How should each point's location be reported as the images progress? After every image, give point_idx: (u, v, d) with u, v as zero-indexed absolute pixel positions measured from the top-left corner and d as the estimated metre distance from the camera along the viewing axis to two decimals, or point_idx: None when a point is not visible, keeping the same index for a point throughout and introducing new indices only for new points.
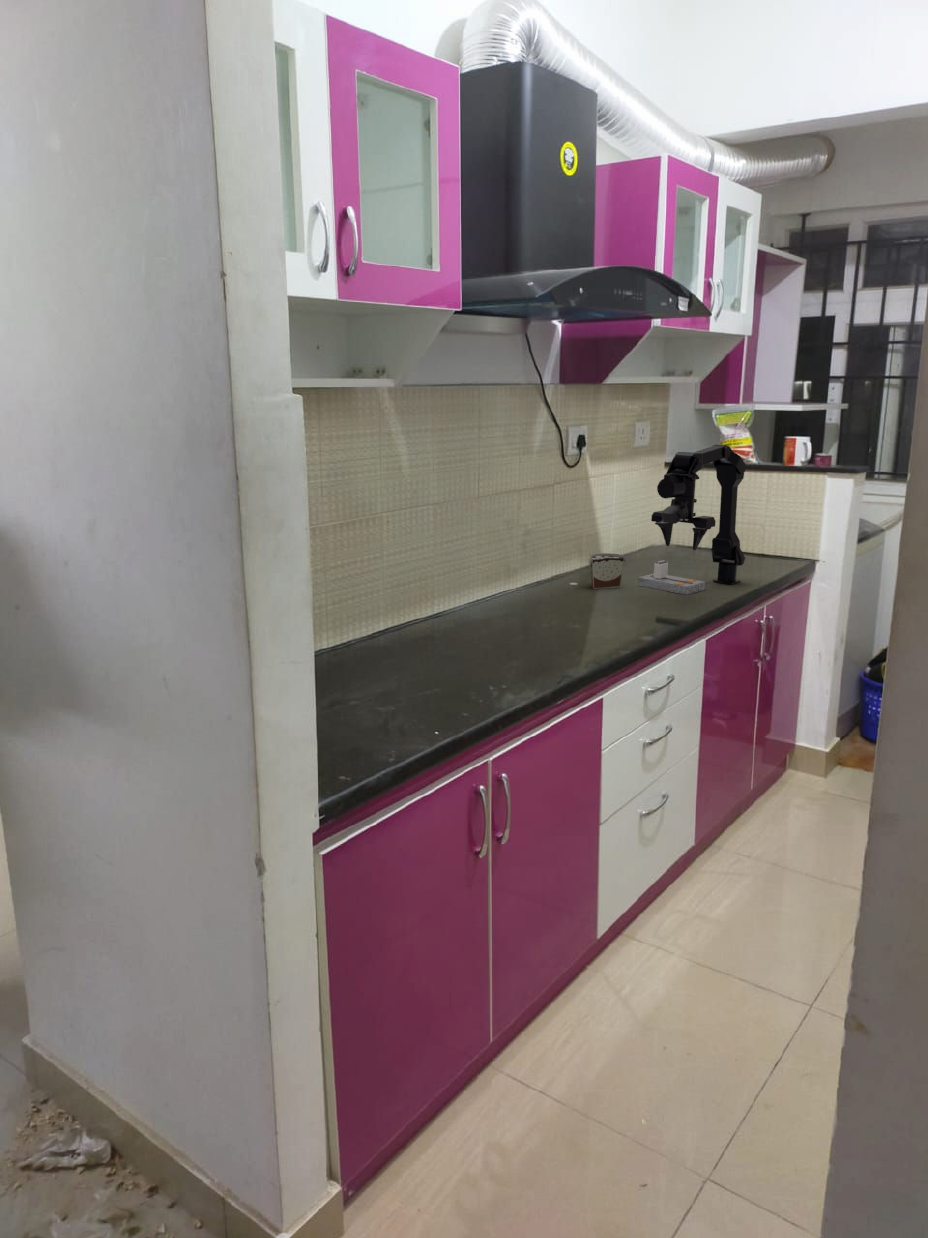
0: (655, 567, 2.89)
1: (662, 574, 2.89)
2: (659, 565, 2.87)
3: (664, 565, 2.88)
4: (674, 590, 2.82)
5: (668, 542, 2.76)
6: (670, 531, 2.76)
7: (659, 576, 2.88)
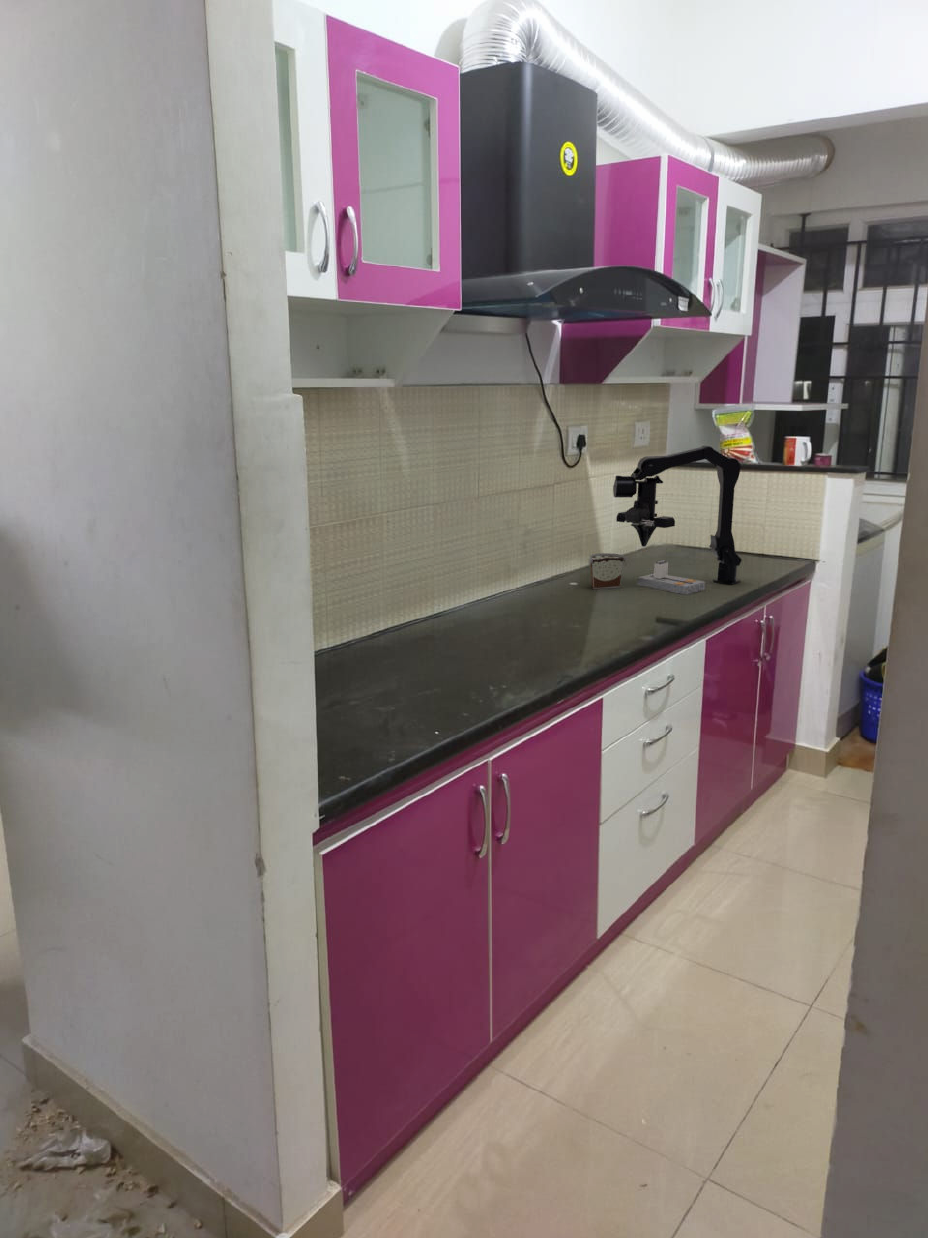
0: (655, 567, 2.89)
1: (662, 574, 2.89)
2: (659, 565, 2.87)
3: (664, 565, 2.88)
4: (674, 590, 2.82)
5: None
6: None
7: (659, 576, 2.88)
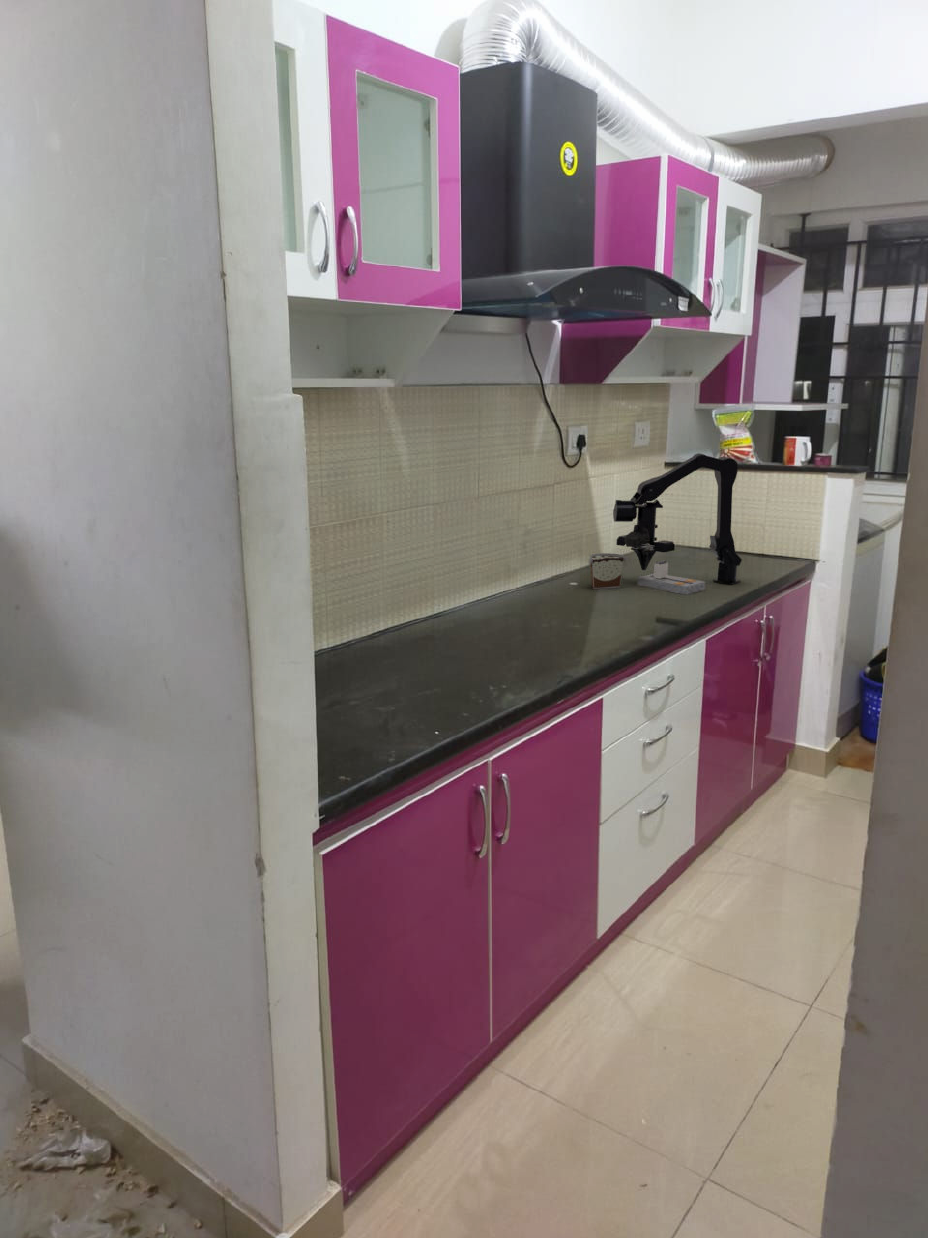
0: (655, 567, 2.89)
1: (662, 574, 2.89)
2: (659, 565, 2.87)
3: (664, 565, 2.88)
4: (674, 590, 2.82)
5: None
6: None
7: (659, 576, 2.88)
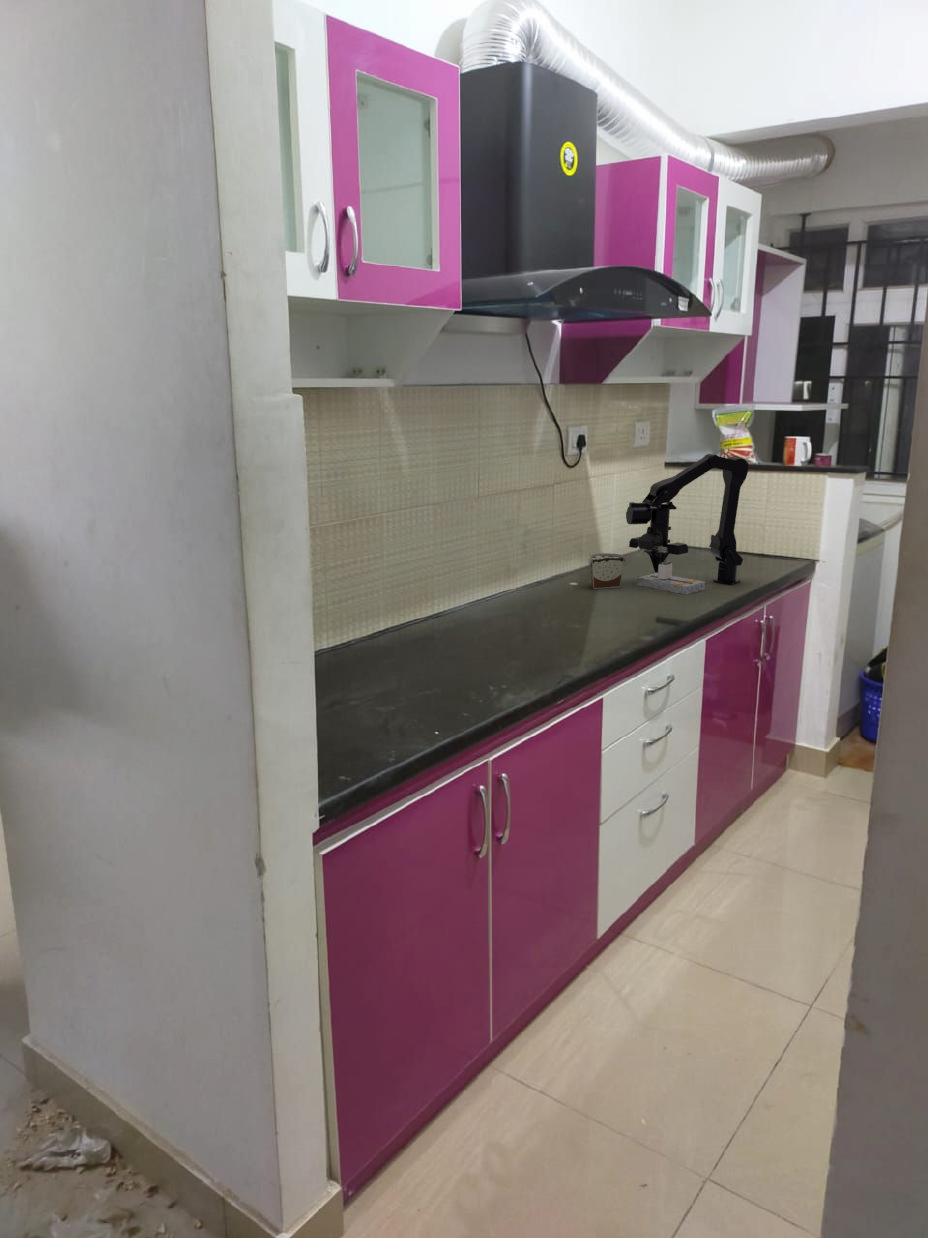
0: (659, 568, 2.88)
1: (667, 574, 2.88)
2: (663, 566, 2.86)
3: (668, 566, 2.87)
4: (674, 590, 2.82)
5: None
6: None
7: (663, 577, 2.87)
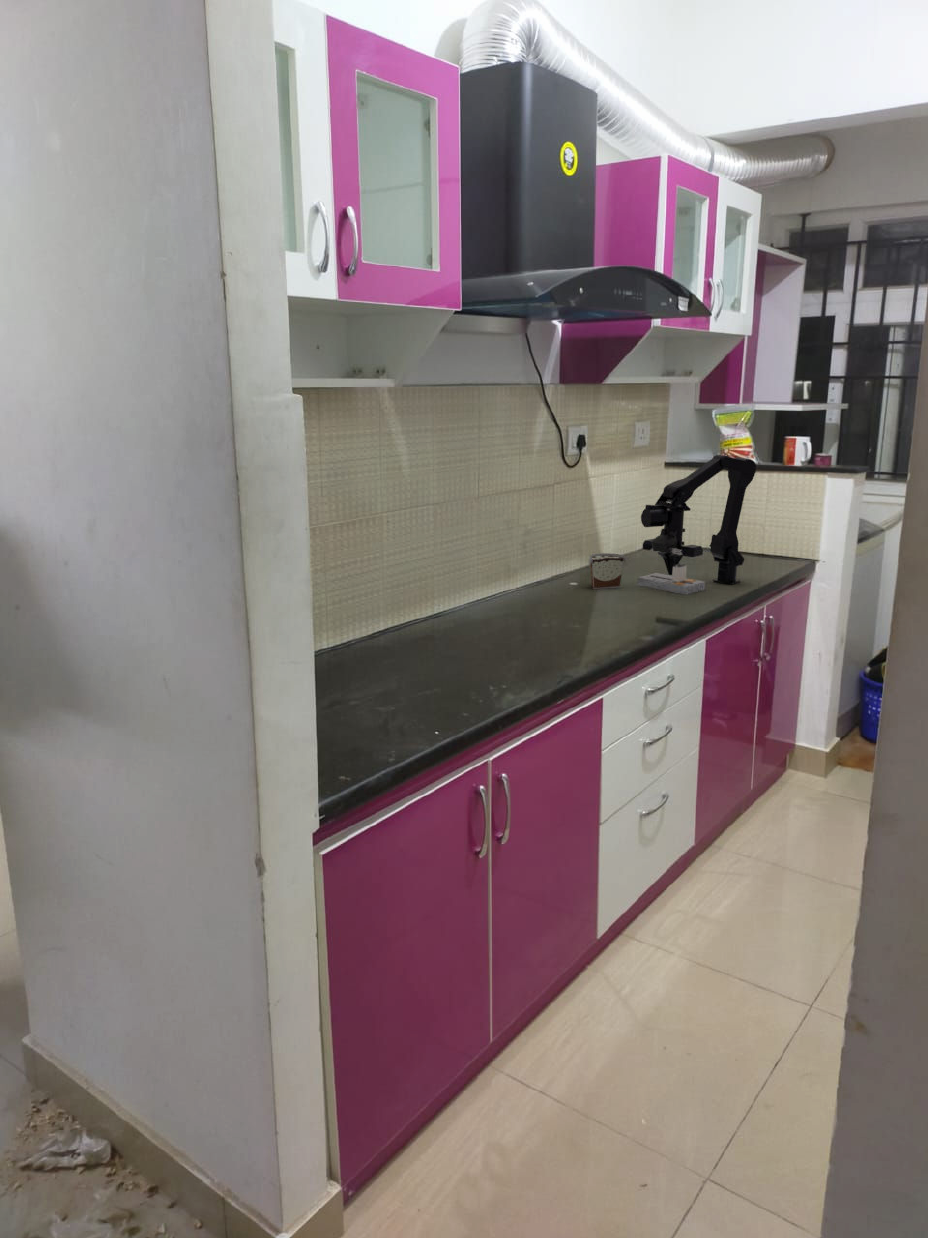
0: (673, 570, 2.84)
1: (681, 577, 2.84)
2: (677, 568, 2.83)
3: (682, 568, 2.84)
4: (674, 590, 2.82)
5: None
6: None
7: (677, 579, 2.84)
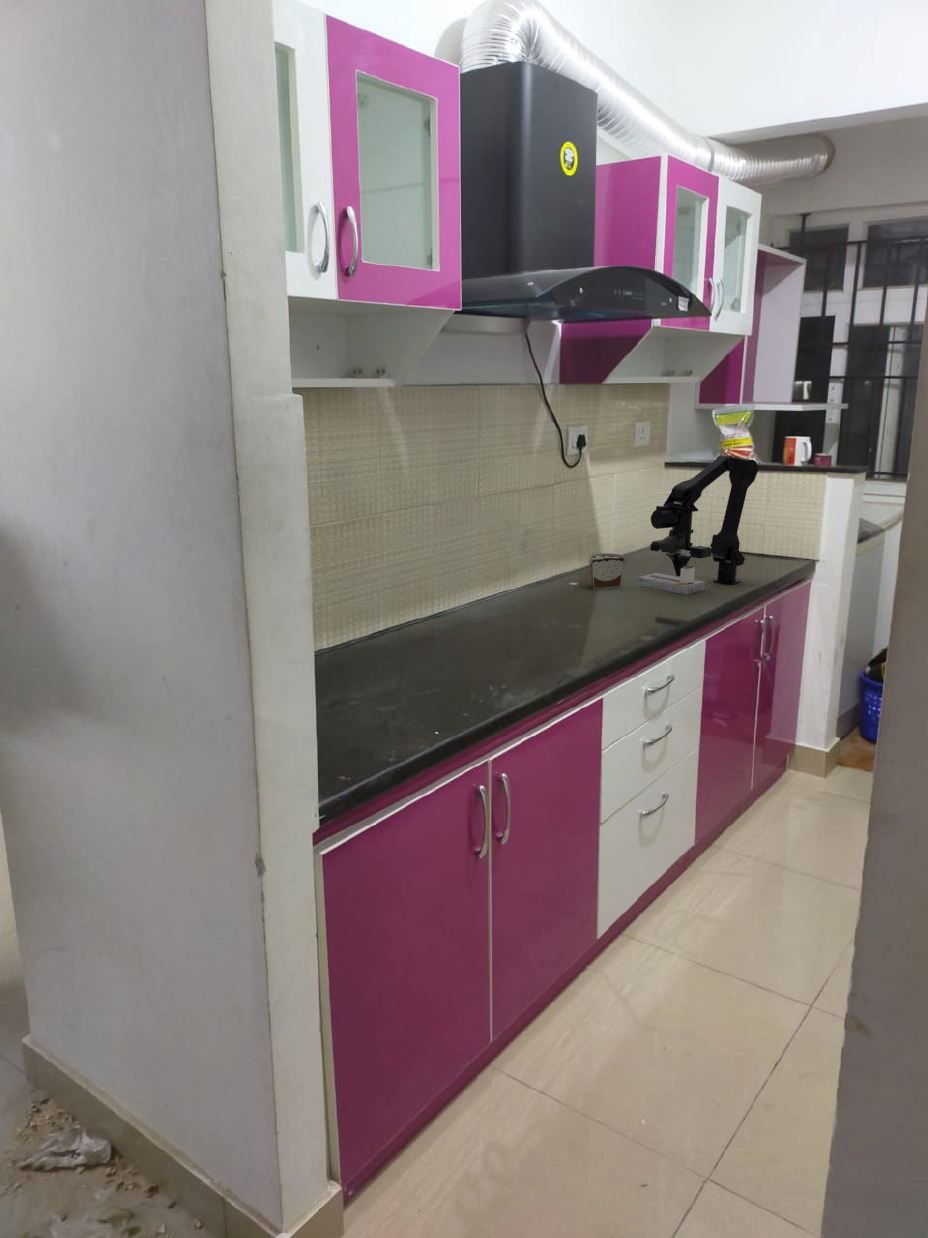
0: (681, 572, 2.82)
1: (689, 579, 2.82)
2: (686, 570, 2.81)
3: (691, 570, 2.82)
4: (674, 590, 2.82)
5: None
6: None
7: (686, 581, 2.82)
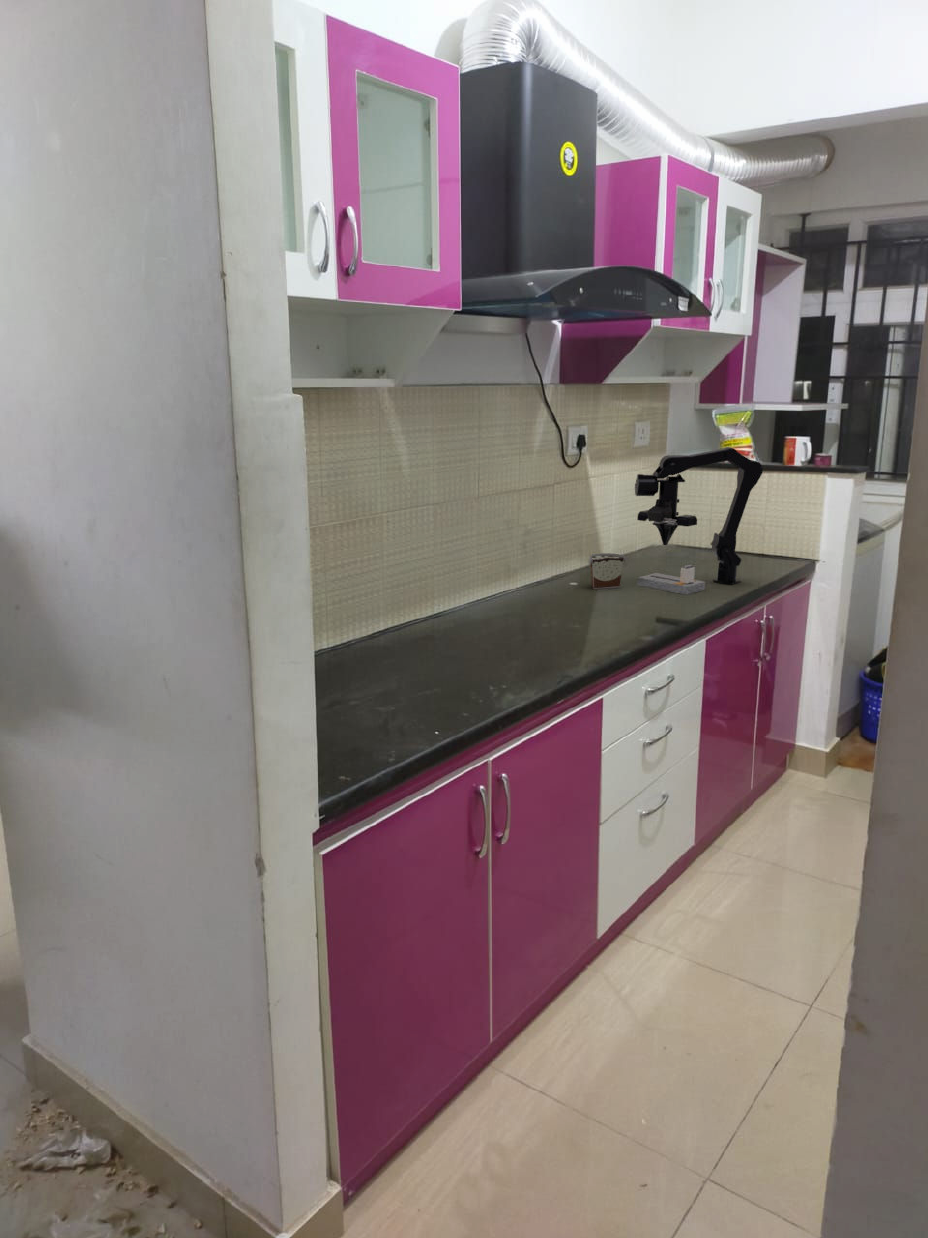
0: (681, 572, 2.82)
1: (689, 579, 2.82)
2: (686, 570, 2.81)
3: (691, 570, 2.82)
4: (674, 590, 2.82)
5: None
6: None
7: (686, 581, 2.82)
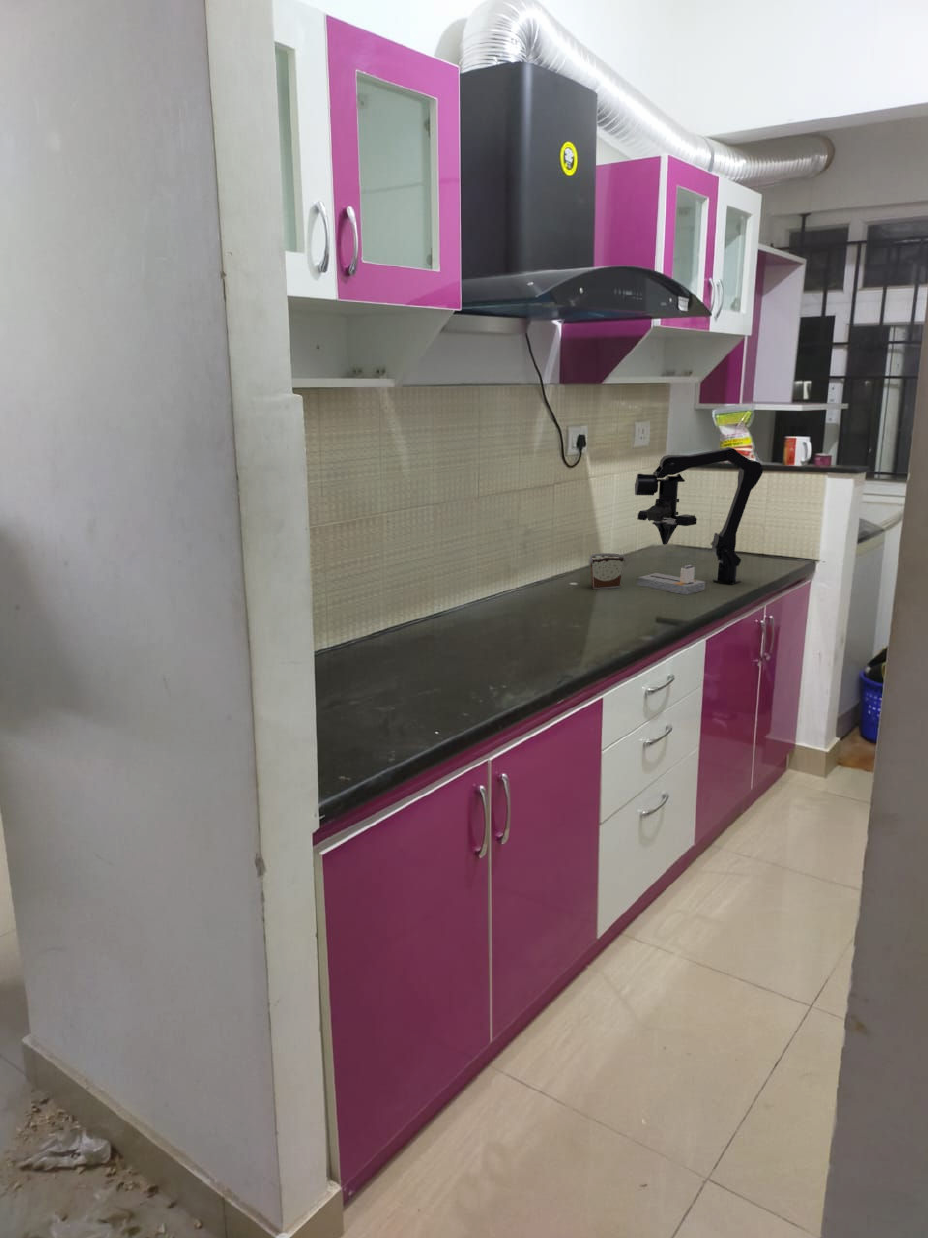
0: (681, 572, 2.82)
1: (689, 579, 2.82)
2: (686, 570, 2.81)
3: (691, 570, 2.82)
4: (674, 590, 2.82)
5: None
6: None
7: (686, 581, 2.82)
